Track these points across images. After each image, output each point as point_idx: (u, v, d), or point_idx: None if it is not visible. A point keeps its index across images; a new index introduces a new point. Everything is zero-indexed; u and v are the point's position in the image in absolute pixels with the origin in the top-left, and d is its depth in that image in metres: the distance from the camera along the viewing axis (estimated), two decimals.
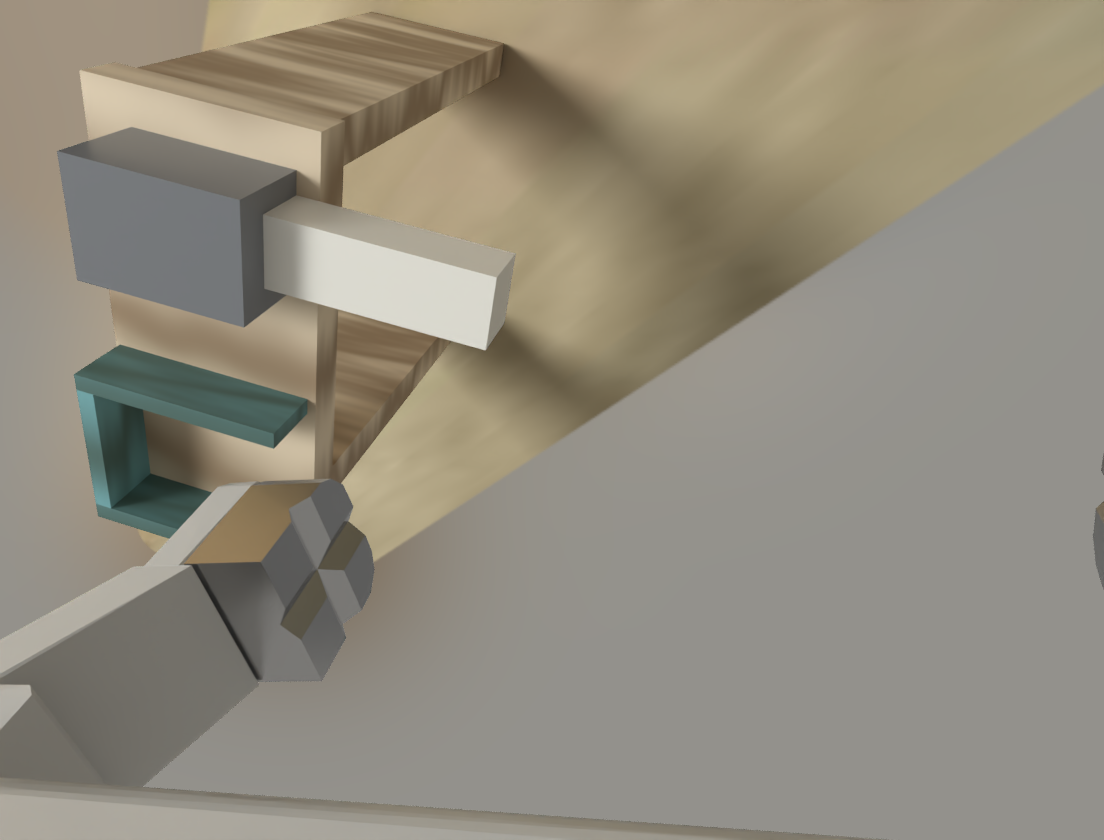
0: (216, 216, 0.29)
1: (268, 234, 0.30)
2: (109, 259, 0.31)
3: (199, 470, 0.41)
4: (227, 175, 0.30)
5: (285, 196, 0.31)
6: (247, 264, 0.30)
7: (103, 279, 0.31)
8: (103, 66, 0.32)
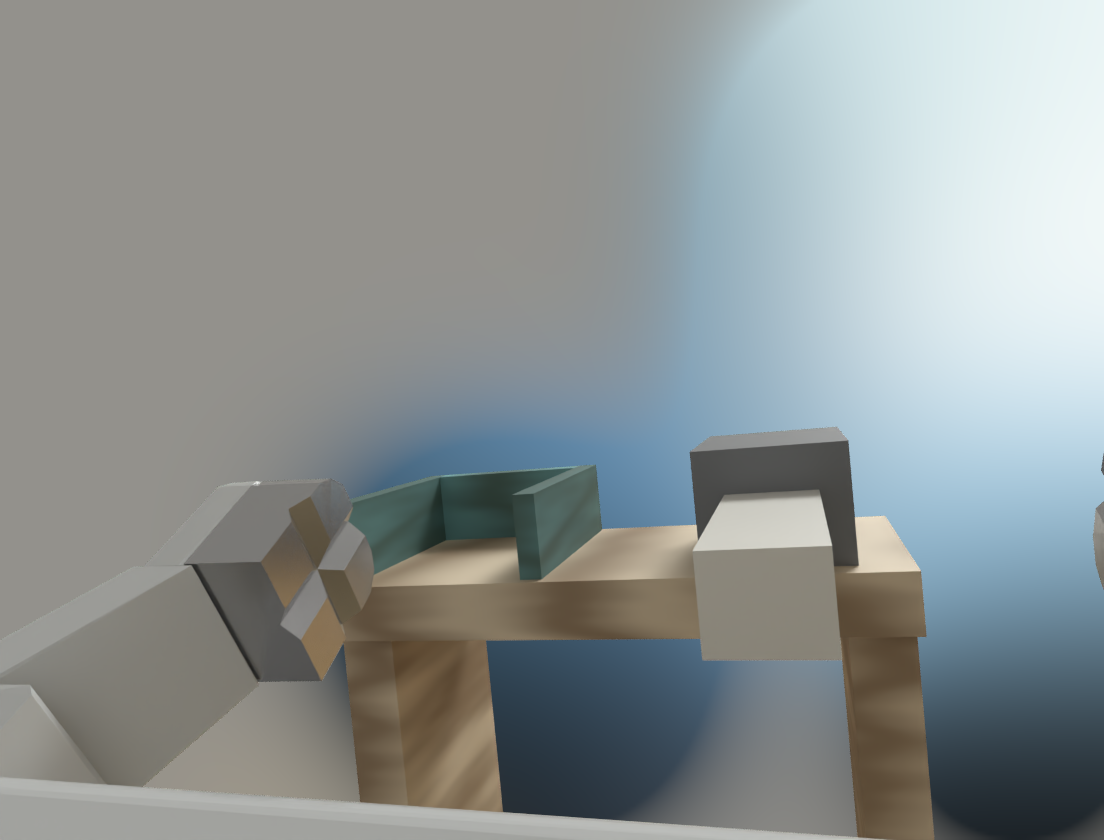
0: (819, 440, 0.27)
1: (795, 491, 0.26)
2: (739, 437, 0.32)
3: (445, 551, 0.36)
4: None
5: None
6: (766, 457, 0.27)
7: (716, 437, 0.33)
8: None
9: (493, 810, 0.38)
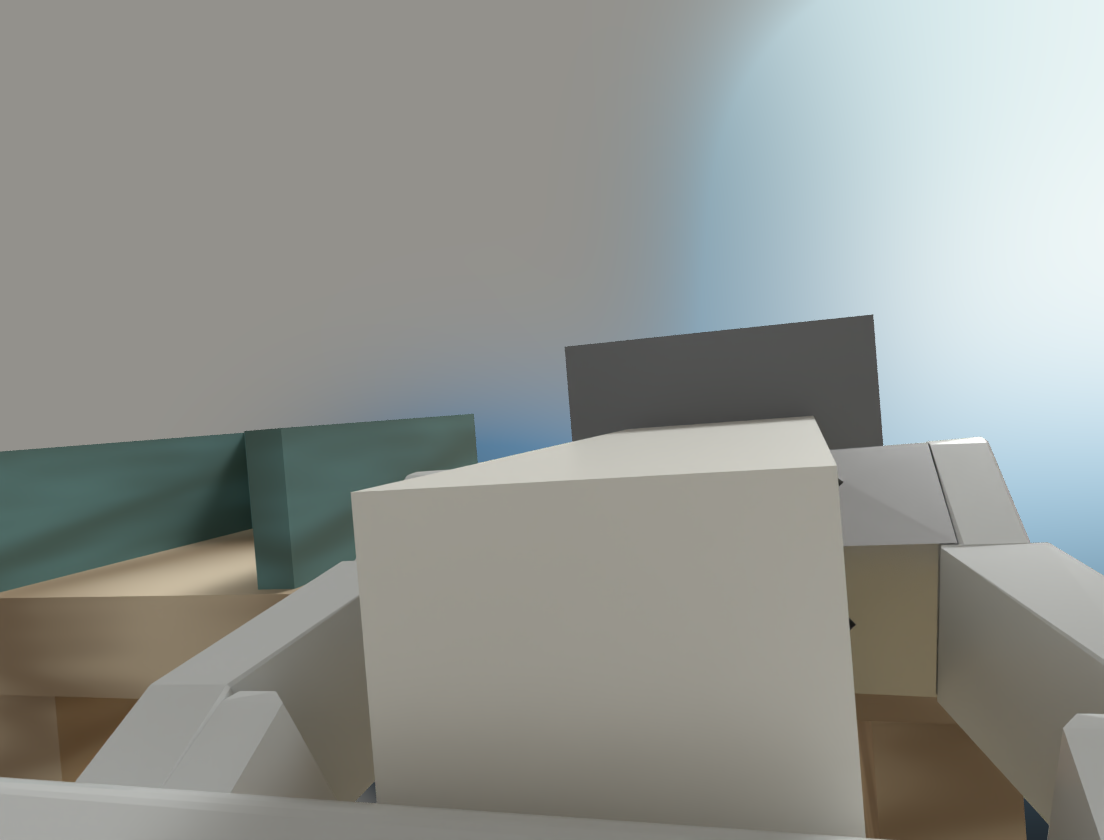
0: None
1: (766, 419, 0.13)
2: None
3: (224, 543, 0.23)
4: None
5: None
6: (709, 354, 0.14)
7: None
8: None
9: None
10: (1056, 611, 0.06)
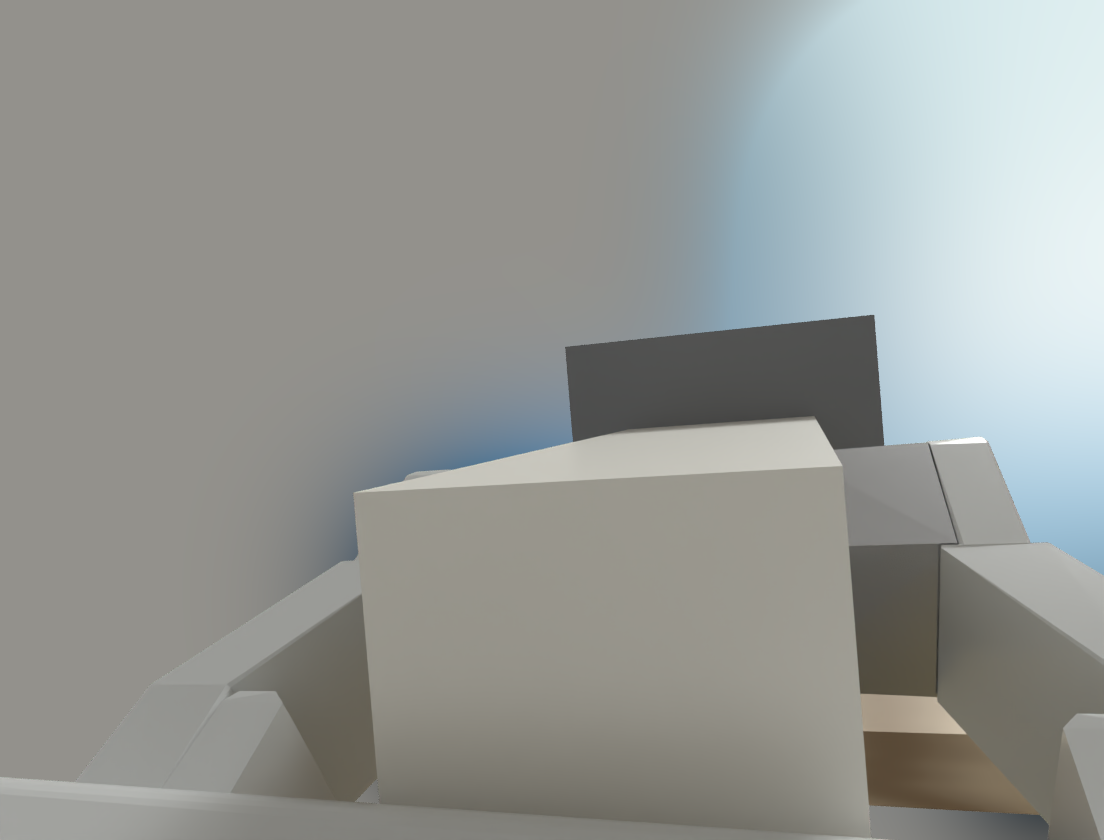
0: None
1: (767, 419, 0.13)
2: None
3: None
4: None
5: None
6: (710, 354, 0.14)
7: None
8: None
9: None
10: (1057, 611, 0.06)
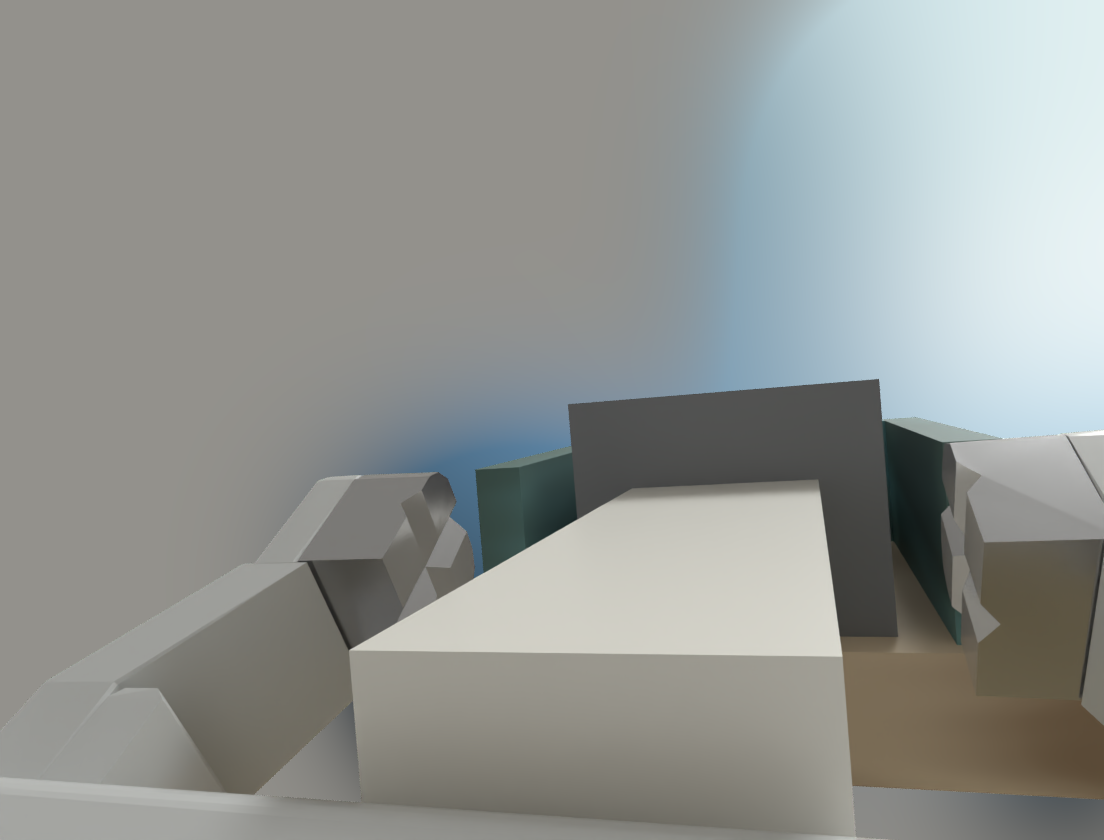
0: None
1: (770, 482, 0.13)
2: None
3: None
4: None
5: (838, 585, 0.13)
6: (713, 415, 0.13)
7: None
8: None
9: None
10: None
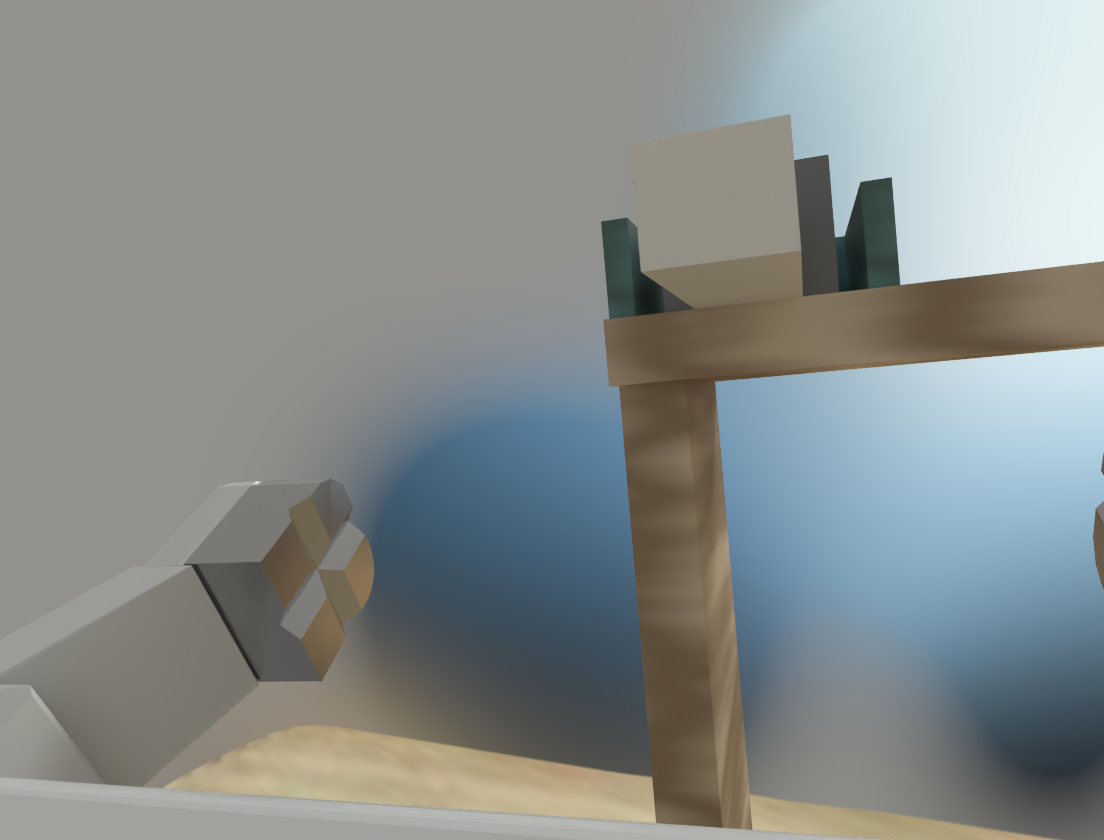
0: None
1: None
2: None
3: None
4: None
5: (807, 270, 0.24)
6: None
7: None
8: None
9: (734, 652, 0.32)
10: None
